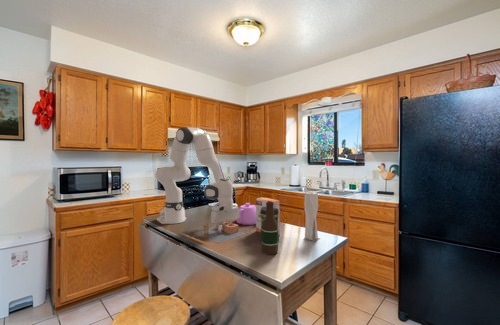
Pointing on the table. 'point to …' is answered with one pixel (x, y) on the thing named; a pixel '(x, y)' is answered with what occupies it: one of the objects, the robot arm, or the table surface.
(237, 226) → the square column with socket
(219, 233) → the cylinder
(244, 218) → the teapot
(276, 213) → the coffee jar
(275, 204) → the cracker box
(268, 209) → the beer bottle
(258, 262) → the table surface
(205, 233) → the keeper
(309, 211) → the skyscraper
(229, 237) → the board
